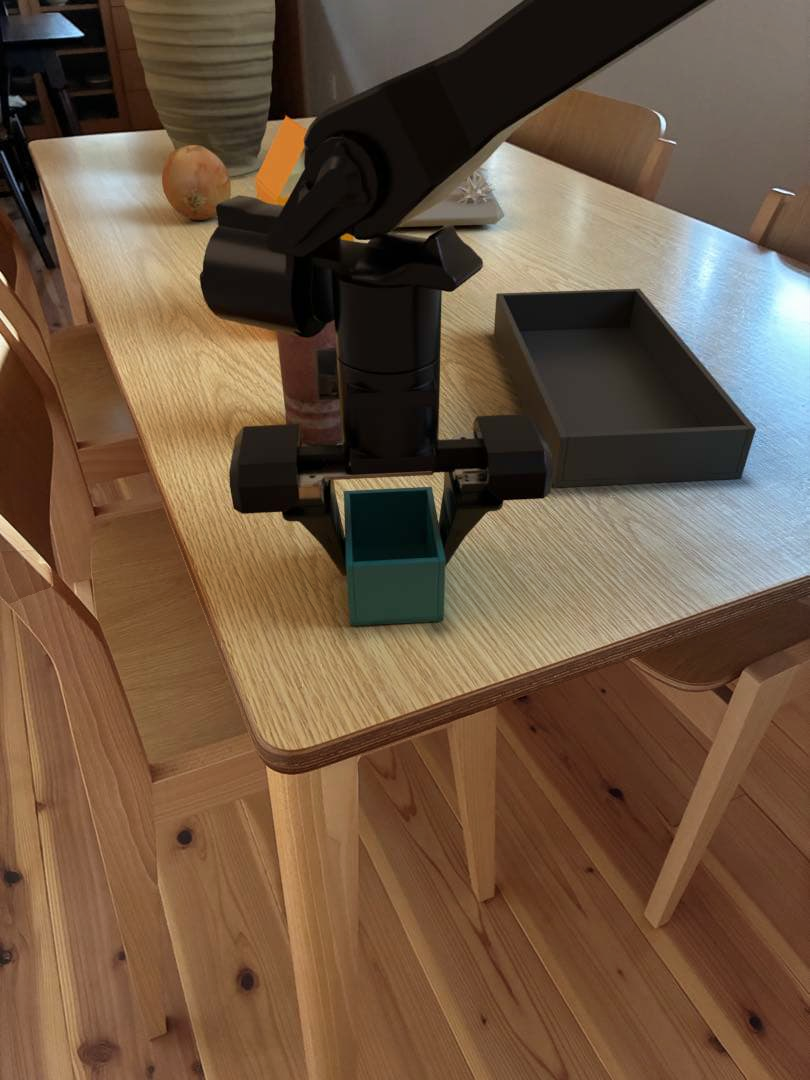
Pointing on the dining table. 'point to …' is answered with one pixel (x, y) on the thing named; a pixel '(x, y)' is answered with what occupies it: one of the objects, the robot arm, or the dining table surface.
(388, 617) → the teal bin
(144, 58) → the vase
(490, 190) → the decorative tray
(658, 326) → the tray
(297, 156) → the orange juice
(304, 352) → the soda can
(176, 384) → the dining table surface
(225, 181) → the onion
